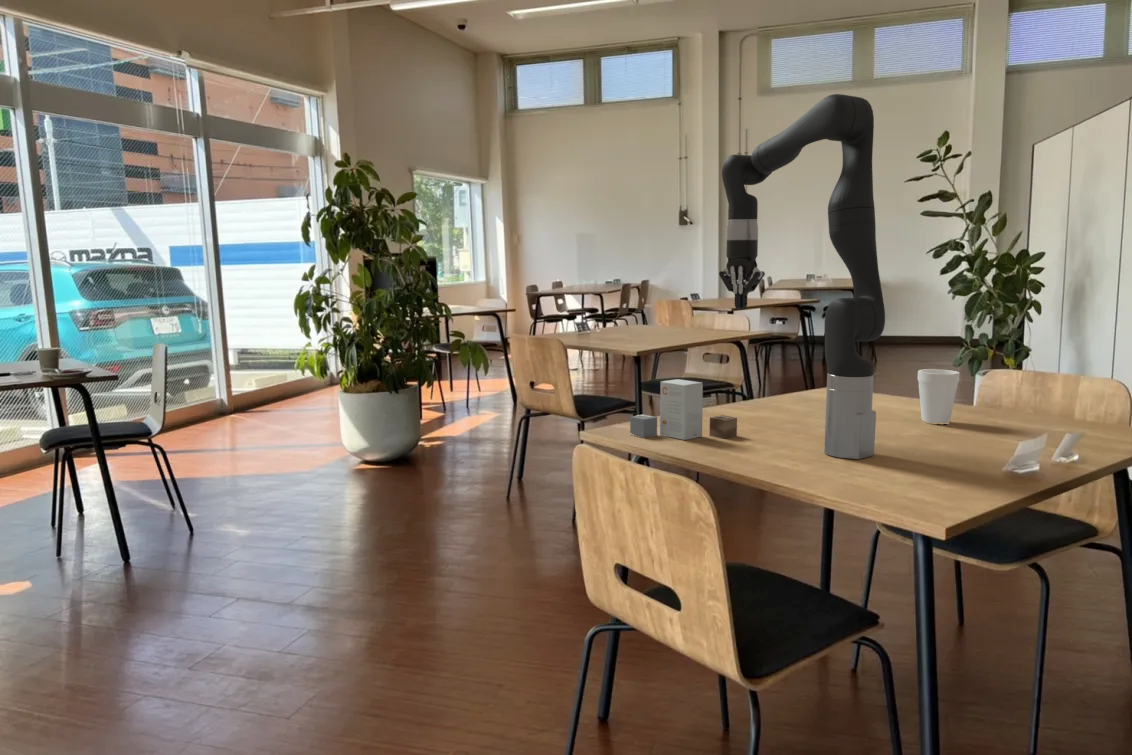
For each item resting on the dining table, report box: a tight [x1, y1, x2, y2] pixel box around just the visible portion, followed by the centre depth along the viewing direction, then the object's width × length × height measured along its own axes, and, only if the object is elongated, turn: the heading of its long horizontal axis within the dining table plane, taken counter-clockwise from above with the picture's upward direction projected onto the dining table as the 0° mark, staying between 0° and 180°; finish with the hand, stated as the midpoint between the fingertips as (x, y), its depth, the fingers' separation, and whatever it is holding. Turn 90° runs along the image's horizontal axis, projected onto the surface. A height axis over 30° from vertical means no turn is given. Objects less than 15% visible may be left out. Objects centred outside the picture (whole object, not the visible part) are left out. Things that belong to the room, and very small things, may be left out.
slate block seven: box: [629, 414, 658, 439], centre depth 192 cm, size 4×4×5 cm
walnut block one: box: [709, 414, 738, 440], centre depth 191 cm, size 4×4×5 cm
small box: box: [659, 378, 704, 441], centre depth 190 cm, size 8×6×13 cm
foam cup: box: [917, 368, 960, 423], centre depth 203 cm, size 10×9×13 cm
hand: (740, 309), depth 201 cm, fingers closed
